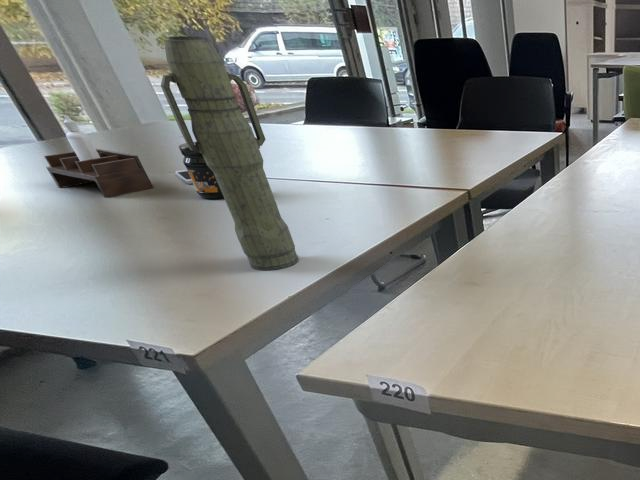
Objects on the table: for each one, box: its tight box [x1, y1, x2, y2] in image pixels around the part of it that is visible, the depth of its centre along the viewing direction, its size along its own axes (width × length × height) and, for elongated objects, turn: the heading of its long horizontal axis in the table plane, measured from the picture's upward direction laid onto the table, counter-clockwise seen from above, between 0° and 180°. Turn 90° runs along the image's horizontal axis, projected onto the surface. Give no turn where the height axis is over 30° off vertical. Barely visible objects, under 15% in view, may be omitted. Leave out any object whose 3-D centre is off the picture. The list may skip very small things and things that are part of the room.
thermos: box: [160, 35, 300, 271], centre depth 90 cm, size 9×12×35 cm
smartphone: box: [174, 169, 193, 185], centre depth 151 cm, size 7×16×1 cm, turn 43°
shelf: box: [44, 148, 154, 198], centre depth 138 cm, size 12×22×8 cm, turn 65°
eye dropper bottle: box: [62, 114, 100, 161], centre depth 134 cm, size 4×6×12 cm
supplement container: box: [178, 141, 224, 200], centre depth 134 cm, size 10×10×12 cm
